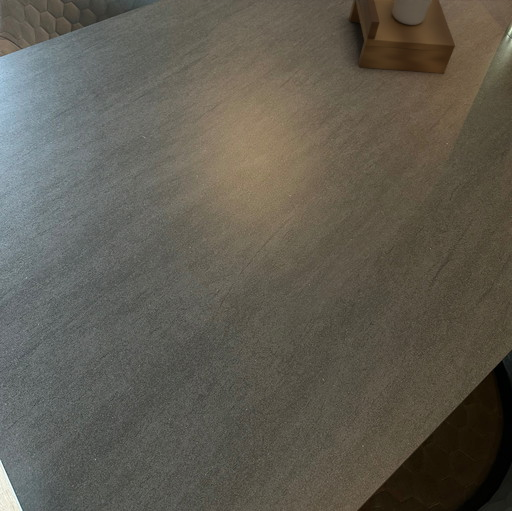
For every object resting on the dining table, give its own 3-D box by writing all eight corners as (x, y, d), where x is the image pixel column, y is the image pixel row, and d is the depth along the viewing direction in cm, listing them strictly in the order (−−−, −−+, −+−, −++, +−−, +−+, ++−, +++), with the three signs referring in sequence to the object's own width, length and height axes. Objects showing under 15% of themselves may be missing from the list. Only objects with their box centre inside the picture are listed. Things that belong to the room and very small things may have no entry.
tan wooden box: (427, 24, 109) (443, -21, 102) (443, 73, 101) (462, 28, 94) (348, 17, 108) (360, -28, 101) (358, 67, 100) (372, 21, 93)
